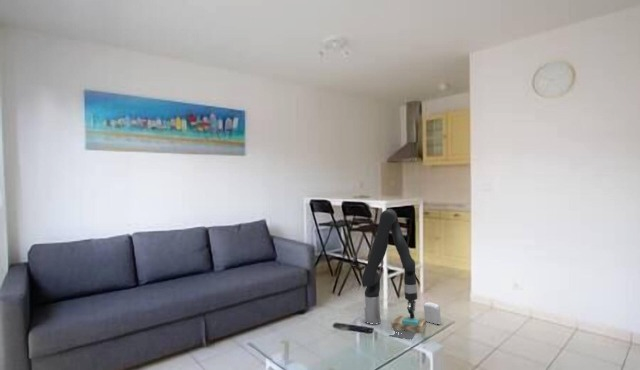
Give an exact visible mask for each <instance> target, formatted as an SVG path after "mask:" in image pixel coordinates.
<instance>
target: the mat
mask: <svg viewBox="0 0 640 370" xmlns="http://www.w3.org/2000/svg"><path fill="white" fill-rule="evenodd" d="M393 330H394V331H395V334H394V335H390V334H389V335H388V336H389V337H390V336H392V338H397V337H399V338H398V339H403V338H405V339H404V340H410V339H411V341H412V340H413V339H414V336H415V335H416V333H417V332H411V331H404V330H397V329H393ZM396 332H397V333H396ZM398 332H399V335H398ZM401 333H402V334H401Z"/></svg>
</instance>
